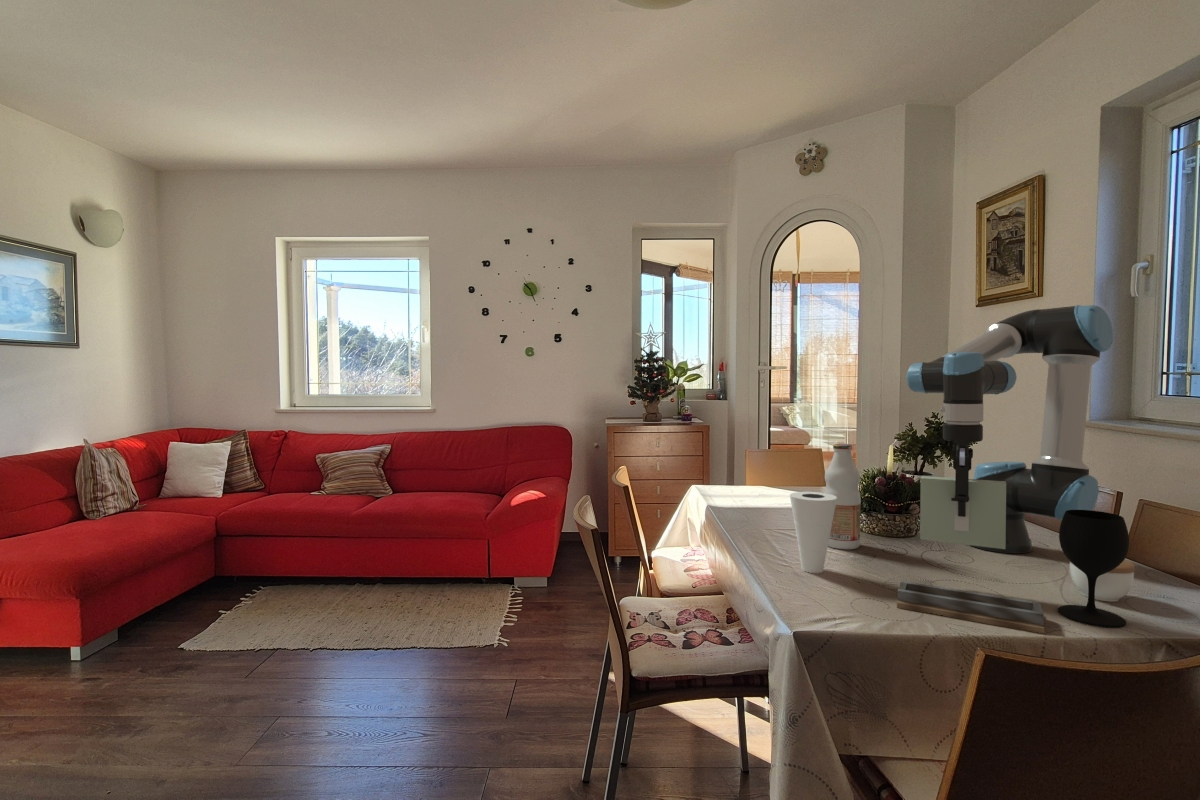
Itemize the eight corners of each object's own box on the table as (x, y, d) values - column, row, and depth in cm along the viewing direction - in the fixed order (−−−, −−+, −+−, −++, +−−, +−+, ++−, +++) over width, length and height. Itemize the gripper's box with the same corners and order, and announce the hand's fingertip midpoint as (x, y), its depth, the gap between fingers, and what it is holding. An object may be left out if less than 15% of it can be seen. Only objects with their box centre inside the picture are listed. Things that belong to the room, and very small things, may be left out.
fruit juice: (836, 551, 160) (837, 446, 159) (816, 541, 170) (817, 443, 169) (867, 548, 162) (868, 445, 161) (846, 539, 172) (847, 442, 171)
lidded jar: (1055, 587, 133) (1056, 545, 132) (1105, 587, 132) (1106, 545, 132) (1094, 605, 122) (1095, 560, 122) (1148, 606, 122) (1150, 560, 121)
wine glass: (1140, 630, 110) (1143, 522, 109) (1075, 625, 112) (1078, 519, 111) (1104, 608, 120) (1107, 509, 120) (1046, 604, 122) (1048, 507, 122)
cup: (843, 569, 145) (844, 495, 144) (825, 580, 137) (825, 502, 137) (800, 560, 152) (801, 490, 152) (781, 570, 145) (782, 496, 144)
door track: (1038, 615, 117) (1039, 599, 117) (1044, 633, 109) (1044, 617, 109) (901, 592, 130) (901, 578, 130) (896, 607, 121) (897, 592, 121)
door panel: (1004, 545, 130) (1005, 481, 129) (1005, 549, 128) (1006, 483, 127) (921, 536, 138) (921, 475, 138) (920, 539, 136) (920, 478, 135)
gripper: (944, 419, 141) (943, 518, 142) (941, 425, 127) (940, 535, 128) (982, 420, 137) (981, 522, 138) (983, 426, 123) (982, 539, 124)
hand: (961, 528), depth 133 cm, fingers closed on door panel, 3 cm apart
